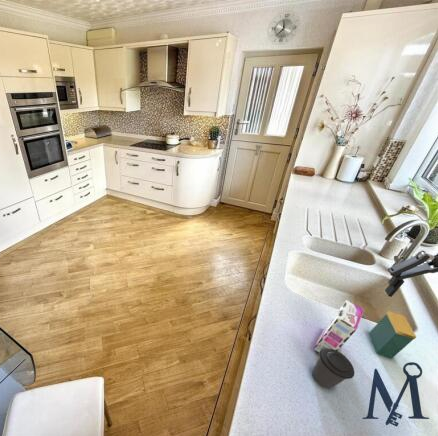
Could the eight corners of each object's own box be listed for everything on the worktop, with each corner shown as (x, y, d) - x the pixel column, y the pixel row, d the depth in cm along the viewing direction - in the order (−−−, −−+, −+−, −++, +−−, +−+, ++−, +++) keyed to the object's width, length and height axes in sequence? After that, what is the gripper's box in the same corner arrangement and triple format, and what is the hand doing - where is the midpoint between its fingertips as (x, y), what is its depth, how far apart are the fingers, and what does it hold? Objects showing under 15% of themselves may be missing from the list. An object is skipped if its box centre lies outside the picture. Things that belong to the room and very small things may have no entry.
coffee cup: (345, 394, 65) (364, 376, 60) (317, 394, 65) (334, 376, 60) (326, 364, 72) (341, 346, 67) (300, 364, 72) (314, 345, 67)
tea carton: (416, 337, 69) (404, 316, 75) (398, 331, 70) (388, 311, 77) (392, 359, 75) (382, 338, 81) (376, 353, 76) (368, 333, 83)
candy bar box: (329, 362, 73) (357, 330, 65) (312, 349, 76) (336, 318, 68) (339, 340, 80) (365, 309, 71) (322, 329, 83) (346, 298, 74)
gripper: (413, 239, 60) (369, 295, 71) (558, 271, 52) (483, 329, 63) (401, 225, 66) (362, 279, 77) (529, 252, 58) (465, 308, 69)
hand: (416, 302), depth 70 cm, fingers open, 13 cm apart
